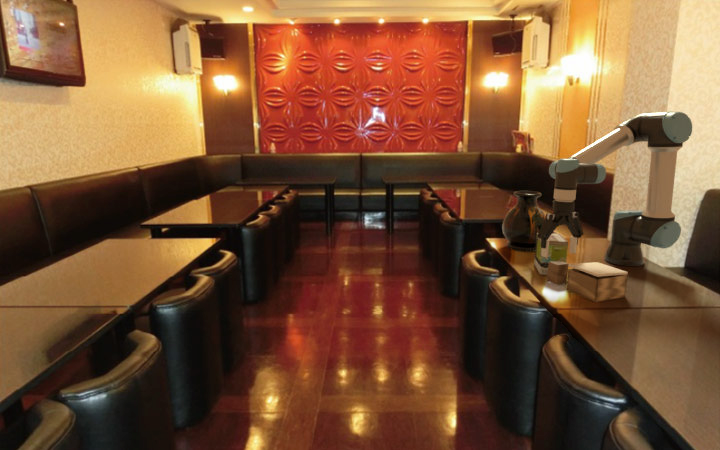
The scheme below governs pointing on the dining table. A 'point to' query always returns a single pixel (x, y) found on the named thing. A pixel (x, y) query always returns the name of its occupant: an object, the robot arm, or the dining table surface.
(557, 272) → the walnut block
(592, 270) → the lid
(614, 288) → the crate
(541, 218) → the dark glossy vase
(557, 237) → the tea box
